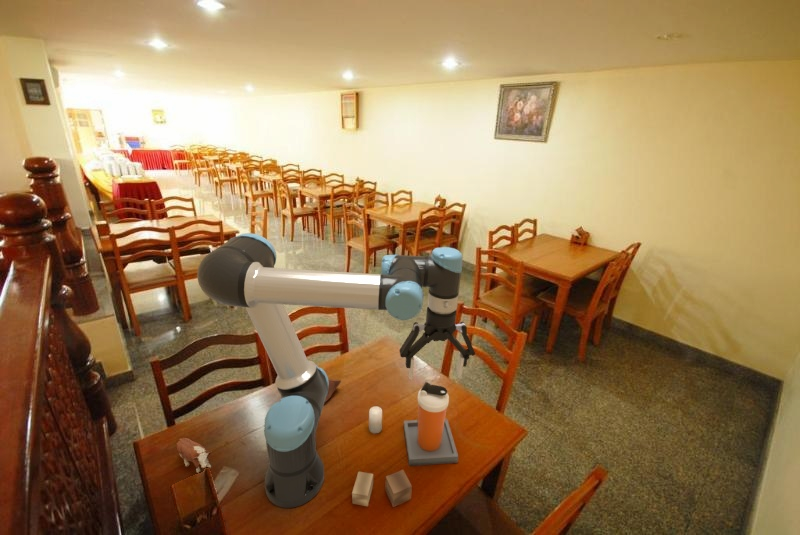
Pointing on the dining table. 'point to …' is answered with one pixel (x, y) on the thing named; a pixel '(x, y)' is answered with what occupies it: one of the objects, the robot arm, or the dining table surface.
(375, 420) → the ceramic shaker
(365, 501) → the oak block
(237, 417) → the dining table surface
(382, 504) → the dining table surface
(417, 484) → the dining table surface
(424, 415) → the shaker bottle
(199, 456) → the bull figurine
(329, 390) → the fossil
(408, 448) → the tray
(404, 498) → the walnut block
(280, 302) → the robot arm
